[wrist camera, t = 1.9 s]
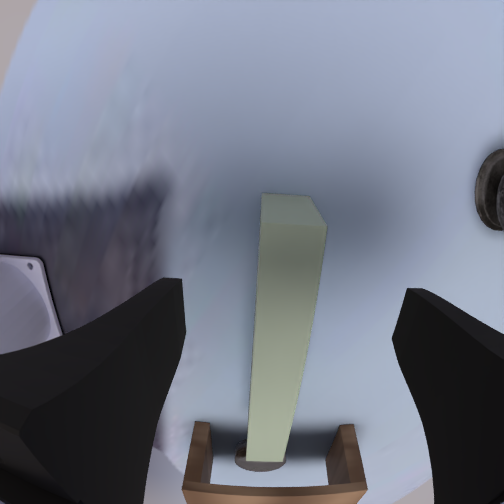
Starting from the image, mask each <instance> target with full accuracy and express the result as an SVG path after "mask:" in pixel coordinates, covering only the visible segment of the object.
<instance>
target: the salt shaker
mask: <svg viewBox="0 0 504 504" xmlns="http://www.w3.org/2000/svg"><path fill="white" fill-rule="evenodd" d="M475 203H476V208H477V212H478V214H479V216H480V218H481V220H482V221H483V222H484V224H485V225H486V226H487V227H489V228H491V229H493V230H498V231H502V230H504V149H499V150H497V151H495V152H493V153H491V154H490V155H489V156H488V157H487V159H486V160H485V161H484V163H483V165H482V166H481V168H480V171H479V174H478V176H477V180H476V186H475Z"/></svg>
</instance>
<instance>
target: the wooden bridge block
mask: <svg viewBox="0 0 504 504" xmlns="http://www.w3.org/2000/svg"><path fill="white" fill-rule="evenodd" d="M325 461H326V468H327V476H328V484H329V485H325V486H309V487H246V486H229V485H217V484H210V478H211V470H212V463H213V451H212V441H211V431H210V423H206V422H197V421H195V424H194V429H193V434H192V439H191V444H190V449H189V454H188V459H187V465H186V470H185V475H184V481H183V486H182V491H183V494H184V497H185V500H186V502H187V504H357V502H358V501H359V500H360V499H361V498H362V496H363V495H364V494H365V493H366V491H367V490H368V488H367V483H366V478H365V474H364V469H363V464H362V459H361V455H360V450H359V446H358V441H357V437H356V433H355V428H354V424H350V425H340V426H339V429H338V431H337V434H336V436H335V438H334V441H333V443H332V445H331V448H330V450H329V452H328V455H327V457H326V459H325Z"/></svg>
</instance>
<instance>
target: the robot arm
mask: <svg viewBox="0 0 504 504" xmlns="http://www.w3.org/2000/svg"><path fill="white" fill-rule="evenodd" d="M31 264H32V265H31ZM185 335H186V325H185V313H184V301H183V287H182V279H178V278H164V277H163V278H161V279H159V280H158V281H156V282H154V283H153V284H151V285H150V286H148V287H147V288H145V289H144V290H142V291H141V292H139V293H138V294H136V295H135V296H133V297H132V298H130V299H129V300H127V301H125V302H124V303H122V304H121V305H119V306H117V307H116V308H114V309H112V310H111V311H109V312H107V313H106V314H104V315H102V316H101V317H99V318H97V319H95V320H94V321H92V322H90V323H88V324H86V325H84V326H82V327H80V328H77V329H75V330H73V331H71V332H69V333H67V334H64V335H63V334H62V331H61V328H60V325H59V322H58V318H57V315H56V312H55V308H54V305H53V301H52V297H51V294H50V290H49V286H48V282H47V278H46V274H45V269H44V265H43V262H42V261H41V260H40V259H39V258H36V257H24V256H12V255H1V254H0V504H143V501H144V492H145V486H146V479H147V473H148V467H149V462H150V456H151V451H152V446H153V441H154V437H155V432H156V427H157V423H158V420H159V417H160V413H161V411H162V408H163V405H164V402H165V399H166V397H167V394H168V391H169V389H170V386H171V383H172V380H173V378H174V375H175V372H176V369H177V367H178V364H179V361H180V358H181V354H182V349H183V345H184V340H185ZM392 341H393V345H394V349H395V353H396V357H397V360H398V363H399V366H400V368H401V371H402V373H403V376H404V378H405V380H406V383H407V385H408V387H409V390H410V392H411V395H412V397H413V400H414V402H415V404H416V407H417V409H418V412H419V415H420V418H421V421H422V424H423V427H424V432H425V436H426V440H427V445H428V450H429V456H430V462H431V468H432V477H433V488H434V504H504V334H502V333H500V332H499V331H497V330H495V329H493V328H491V327H490V326H488V325H486V324H484V323H482V322H481V321H479V320H477V319H476V318H474V317H472V316H471V315H469V314H467V313H466V312H464V311H463V310H461V309H459V308H458V307H456V306H454V305H453V304H451V303H449V302H448V301H446V300H444V299H443V298H441V297H439V296H437V295H436V294H434V293H432V292H430V291H428V290H425V289H423V288H407V290H406V294H405V297H404V301H403V304H402V307H401V311H400V314H399V317H398V320H397V324H396V327H395V330H394V333H393V336H392Z"/></svg>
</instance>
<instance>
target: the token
mask: <svg viewBox="0 0 504 504" xmlns="http://www.w3.org/2000/svg"><path fill="white" fill-rule="evenodd" d="M246 451H247V439H246V440H243V441H241V442H240V443H238V444H237V446H236V451H235V463H236V464H237V465H238V466H239V467H241V468H243V469H246V470H249V471H255V472H265V471H272V470H275V469H278V468H280V467H282V466H283V465H284V464H285V462H286V453H285V454H284V458H283V462H262V461H246Z"/></svg>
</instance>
